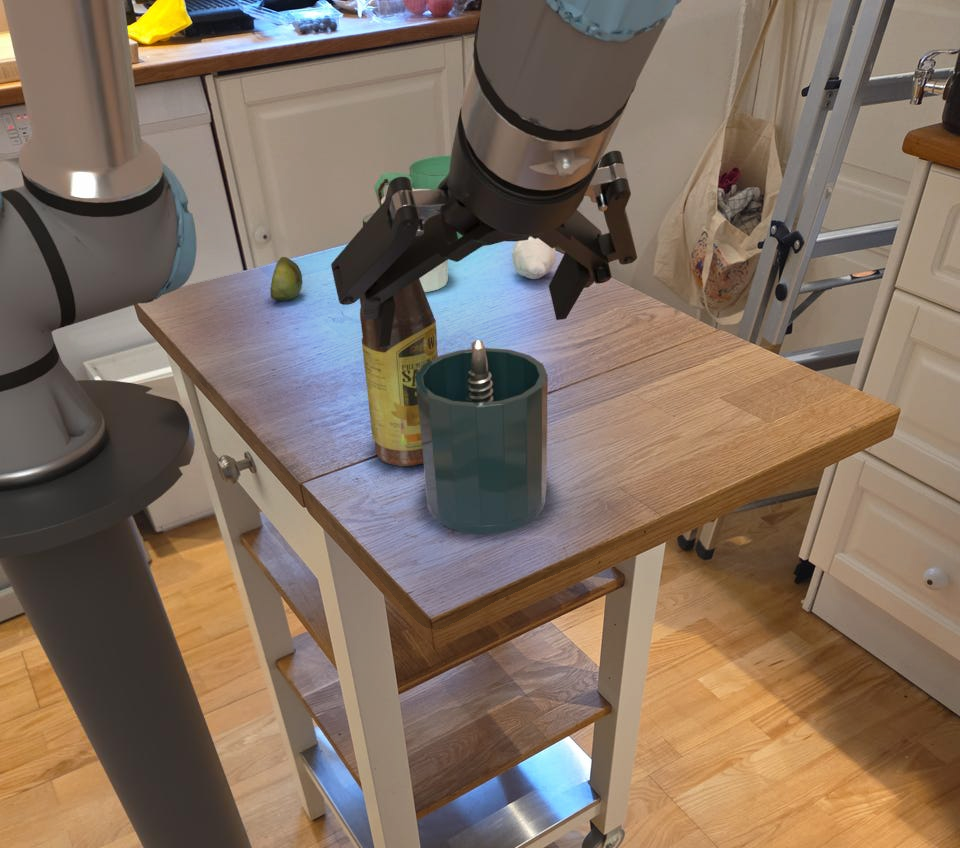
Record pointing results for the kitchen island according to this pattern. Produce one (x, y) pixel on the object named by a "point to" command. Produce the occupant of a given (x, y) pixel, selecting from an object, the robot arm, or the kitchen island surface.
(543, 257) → the garlic bulb
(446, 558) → the kitchen island surface
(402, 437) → the sauce bottle
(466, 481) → the crock
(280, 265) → the lime
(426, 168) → the mug
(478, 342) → the screw
